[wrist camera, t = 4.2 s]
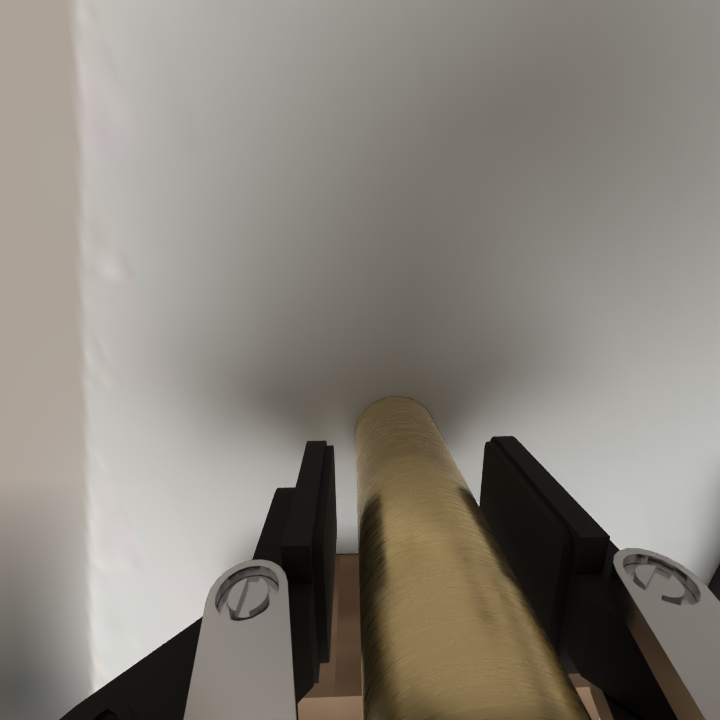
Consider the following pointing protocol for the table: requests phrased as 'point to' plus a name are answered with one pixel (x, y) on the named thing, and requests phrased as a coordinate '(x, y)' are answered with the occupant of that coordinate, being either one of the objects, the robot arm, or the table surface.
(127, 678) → the robot arm
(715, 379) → the table surface
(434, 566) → the brass peg
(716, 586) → the end cap
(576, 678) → the hole block
